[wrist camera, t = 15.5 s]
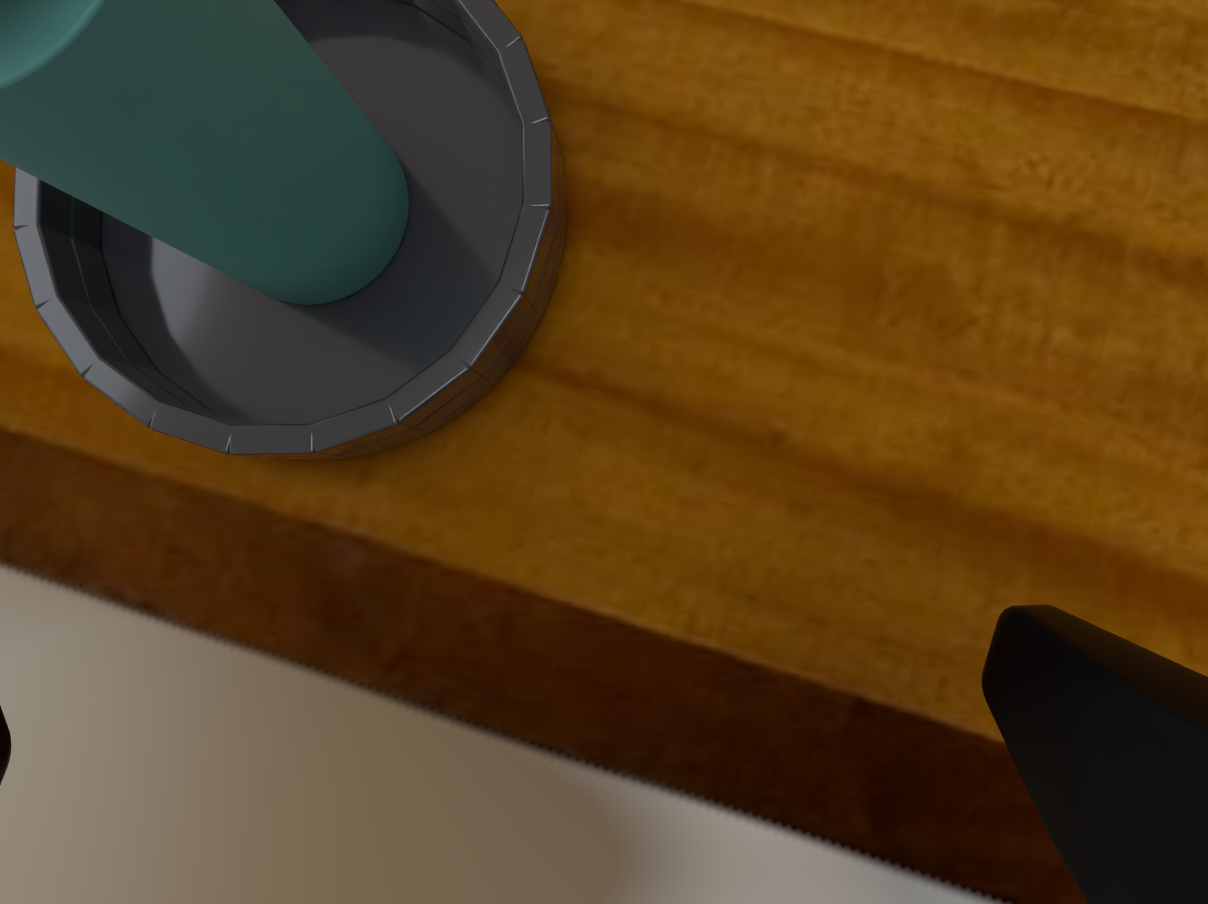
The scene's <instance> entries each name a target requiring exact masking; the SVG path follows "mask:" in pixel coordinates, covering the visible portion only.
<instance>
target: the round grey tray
mask: <svg viewBox="0 0 1208 904" xmlns="http://www.w3.org/2000/svg"><path fill="white" fill-rule="evenodd" d="M274 1H275V2H276V4H277V5H278V6H279V7H280V9H281V10H282V11H283V12H284V14H285V15H286V16H287V17H288V19H289V20H290V21H291V22H292V24H293V25H294V26H295V27H296V29H297V30H298V31H299V33H300V34H301V35H302V36H303V38H304V39H305V40H306V41H307V43H308V44H309V45H310V46H311V48H312V49H313V50H314V51H315V53H316V54H317V55H318V56H319V58H320V59H321V60H322V61H323V63H324V64H325V65H326V66H327V68H328V69H329V70H330V71H331V73H332V74H333V75H334V77H335V78H336V79H337V80H338V82H339V83H340V84H341V85H342V87H343V88H344V89H345V90H346V92H347V93H348V94H349V95H350V97H351V98H352V99H353V100H354V102H355V103H356V104H357V105H358V107H359V108H360V109H361V110H362V112H363V113H364V114H365V115H366V117H367V118H368V119H369V120H370V122H371V123H372V124H373V126H374V127H375V128H376V129H377V131H378V132H379V133H380V134H381V136H382V137H383V138H384V139H385V141H386V142H387V143H388V144H389V146H390V147H391V148H392V150H393V151H394V153H395V155H396V156H397V158H398V159H399V162H400V164H401V166H402V169H403V171H404V175H405V178H406V182H407V187H408V195H409V211H408V219H407V224H406V228H405V232H404V235H403V238H402V240H401V243H400V245H399V247H398V249H397V251H396V253H395V255H394V257H393V258H392V260H391V261H390V262H389V264H388V265H387V266H386V268H385V269H384V270H383V271H382V272H381V273H380V274H379V275H378V276H377V277H376V278H375V279H374V280H373V281H372V282H370V283H369V284H368V285H367V286H365V287H364V288H362V289H361V290H359V291H357V292H356V293H354V294H352V295H349V296H347V297H345V298H343V299H340V300H337V301H333V302H329V303H324V304H317V305H301V304H292V303H288V302H283V301H280V300H277V299H275V298H272V297H270V296H268V295H266V294H264V293H262V292H260V291H258V290H256V289H254V288H252V287H250V286H248V285H246V284H244V283H242V282H240V281H238V280H236V279H234V278H232V277H230V276H228V275H226V274H224V273H222V272H220V271H219V270H217V269H215V268H213V267H211V266H209V265H207V264H205V263H203V262H201V261H199V260H197V259H195V258H193V257H191V256H189V255H187V254H185V253H183V252H181V251H179V250H177V249H175V248H173V247H171V246H169V245H167V244H166V243H164V242H162V241H160V240H158V239H156V238H154V237H152V236H150V235H148V234H146V233H144V232H142V231H140V230H138V229H136V228H134V227H132V226H130V225H128V224H126V223H124V222H122V221H120V220H118V219H116V218H115V217H113V216H111V215H109V214H107V213H105V212H103V211H101V210H99V209H97V208H95V207H93V206H91V205H89V204H87V203H85V202H83V201H81V200H79V199H77V198H75V197H73V196H71V195H69V194H67V193H65V192H63V191H62V190H60V189H58V188H56V187H54V186H52V185H50V184H48V183H46V182H44V181H42V180H40V179H38V178H36V177H34V176H32V175H30V174H28V173H26V172H24V171H22V170H20V169H18V168H16V167H15V184H14V213H13V227H14V229H15V230H14V234H15V238H16V242H17V245H18V249H19V252H20V256H21V260H22V263H23V267H24V270H25V274H26V277H27V281H28V285H29V288H30V292H31V295H32V299H33V302H34V306H35V307H36V308H37V312H38V314H39V315H40V317H41V318H42V320H43V321H44V323H45V324H46V326H47V327H48V329H49V330H50V331H51V333H52V334H53V336H54V337H55V339H56V340H57V342H58V343H59V345H60V346H61V348H62V349H63V351H64V352H65V354H66V355H67V357H68V358H69V360H70V361H71V363H72V364H73V366H74V367H75V369H76V370H77V372H78V373H79V375H80V376H82V377H83V379H84V380H85V381H86V382H88V383H89V384H90V385H92V386H93V387H94V388H96V389H97V390H98V391H100V392H101V393H102V394H103V395H105V396H106V397H107V398H109V399H110V400H111V401H113V402H114V403H115V404H117V405H118V406H119V407H121V408H122V409H123V410H125V411H126V412H127V413H129V414H130V415H131V416H133V417H134V418H135V419H137V420H138V421H139V422H140V423H142V424H143V425H144V426H146V427H149V428H151V429H152V430H154V431H157V432H160V433H163V434H166V435H169V436H173V437H176V438H179V439H182V440H185V441H188V442H191V443H194V444H197V445H200V446H203V447H206V448H209V449H213V450H216V451H219V452H222V453H225V454H232V455H238V456H248V457H257V458H266V459H304V460H331V459H346V458H352V457H358V456H364V455H370V454H375V453H378V452H381V451H384V450H388V449H391V448H394V447H398V446H401V445H404V444H406V443H408V442H411V441H413V440H415V439H417V438H419V437H422V436H424V435H426V434H428V433H430V432H433V431H434V430H436V429H438V428H439V427H441V426H442V425H444V424H446V423H447V422H449V421H450V420H452V419H454V418H455V417H457V416H458V415H460V414H461V413H463V412H464V411H465V410H466V409H468V408H469V407H470V406H471V405H472V404H474V403H475V402H476V401H477V400H479V399H480V398H481V397H482V396H483V395H485V394H486V393H487V392H488V391H489V390H490V389H491V388H492V387H493V385H494V384H495V383H496V382H497V381H498V380H499V379H500V378H501V377H502V376H503V375H504V374H505V373H506V372H507V371H508V370H509V368H510V367H511V365H512V364H513V363H514V361H515V360H516V359H517V357H518V356H519V355H520V353H521V352H522V350H523V349H524V348H525V346H526V345H527V344H528V342H529V340H530V338H531V336H532V335H533V333H534V331H535V329H536V327H537V325H538V324H539V322H540V320H541V318H542V316H543V314H544V312H545V310H546V307H547V304H548V302H549V299H550V297H551V294H552V292H553V289H554V286H555V284H556V280H557V276H558V272H559V268H560V264H561V260H562V256H563V251H564V242H565V233H566V225H567V194H566V182H565V176H564V160H563V157H562V156H563V154H562V151H561V148H560V145H559V142H558V139H557V136H556V132H555V129H554V126H553V123H552V120H551V117H550V114H549V111H548V108H547V105H546V102H545V99H544V96H543V93H542V91H541V88H540V85H539V82H538V79H537V76H536V73H535V70H534V67H533V64H532V61H531V58H530V55H529V53H528V50H527V47H526V44H525V42H524V41H523V39H522V36H521V35H520V33H519V32H518V31H517V30H516V28H515V27H514V26H513V24H512V23H511V22H510V21H509V19H508V18H507V17H506V16H505V14H504V13H503V12H502V10H501V9H500V8H499V7H498V5H497V4H496V3H495V1H494V0H274Z"/></svg>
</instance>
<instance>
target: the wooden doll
mask: <svg viewBox="0 0 1208 904" xmlns="http://www.w3.org/2000/svg"><path fill="white" fill-rule="evenodd" d="M0 159H1V160H3V161H5V162H7V163H9V164H10V165H12V166H14V167H16V168H18V169H20V170H22V171H24V172H26V173H28V174H30V175H32V176H34V177H36V178H38V179H40V180H42V181H44V182H46V183H48V184H50V185H52V186H54V187H56V188H58V189H60V190H62V191H63V192H65V193H67V194H69V195H71V196H73V197H75V198H77V199H79V200H81V201H83V202H85V203H87V204H89V205H91V206H93V207H95V208H97V209H99V210H101V211H103V212H105V213H107V214H109V215H111V216H113V217H115V218H116V219H118V220H120V221H122V222H124V223H126V224H128V225H130V226H132V227H134V228H136V229H138V230H140V231H142V232H144V233H146V234H148V235H150V236H152V237H154V238H156V239H158V240H160V241H162V242H164V243H166V244H167V245H169V246H171V247H173V248H175V249H177V250H179V251H181V252H183V253H185V254H187V255H189V256H191V257H193V258H195V259H197V260H199V261H201V262H203V263H205V264H207V265H209V266H211V267H213V268H215V269H217V270H219V271H220V272H222V273H224V274H226V275H228V276H230V277H232V278H234V279H236V280H238V281H240V282H242V283H244V284H246V285H248V286H250V287H252V288H254V289H256V290H258V291H260V292H262V293H264V294H266V295H268V296H270V297H272V298H275V299H277V300H280V301H283V302H288V303H292V304H301V305H317V304H324V303H329V302H333V301H337V300H340V299H343V298H345V297H347V296H349V295H352V294H354V293H356V292H357V291H359V290H361V289H362V288H364V287H365V286H367V285H368V284H369V283H370V282H372V281H373V280H374V279H375V278H376V277H377V276H378V275H379V274H380V273H381V272H382V271H383V270H384V269H385V268H386V266H387V265H388V264H389V262H390V261H391V260H392V258H393V257H394V255H395V253H396V251H397V249H398V247H399V245H400V243H401V240H402V238H403V235H404V232H405V228H406V224H407V219H408V211H409V195H408V187H407V182H406V178H405V175H404V171H403V169H402V166H401V164H400V162H399V159H398V158H397V156H396V155H395V153H394V151H393V150H392V148H391V147H390V146H389V144H388V143H387V142H386V141H385V139H384V138H383V137H382V136H381V134H380V133H379V132H378V131H377V129H376V128H375V127H374V126H373V124H372V123H371V122H370V120H369V119H368V118H367V117H366V115H365V114H364V113H363V112H362V110H361V109H360V108H359V107H358V105H357V104H356V103H355V102H354V100H353V99H352V98H351V97H350V95H349V94H348V93H347V92H346V90H345V89H344V88H343V87H342V85H341V84H340V83H339V82H338V80H337V79H336V78H335V77H334V75H333V74H332V73H331V71H330V70H329V69H328V68H327V66H326V65H325V64H324V63H323V61H322V60H321V59H320V58H319V56H318V55H317V54H316V53H315V51H314V50H313V49H312V48H311V46H310V45H309V44H308V43H307V41H306V40H305V39H304V38H303V36H302V35H301V34H300V33H299V31H298V30H297V29H296V27H295V26H294V25H293V24H292V22H291V21H290V20H289V19H288V17H287V16H286V15H285V14H284V12H283V11H282V10H281V9H280V7H279V6H278V5H277V4H276V2H275V1H274V0H0Z"/></svg>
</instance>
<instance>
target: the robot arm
mask: <svg viewBox="0 0 1208 904" xmlns="http://www.w3.org/2000/svg"><path fill="white" fill-rule="evenodd" d="M982 688H983V693H984V696H985V699H986V702H987V704H988V706H989V708H990V711H991V713H992V715H993V717H994V719H995V721H996V723H997V726H998V728H999V730H1000V732H1001V734H1002V736H1003V739H1004V741H1005V743H1006V745H1007V747H1008V749H1009V751H1010V754H1011V756H1012V758H1013V760H1014V762H1015V764H1016V766H1017V769H1018V771H1019V773H1020V775H1021V777H1022V779H1023V782H1024V784H1025V786H1026V788H1027V790H1028V792H1029V794H1030V797H1031V799H1032V801H1033V803H1034V805H1035V807H1036V809H1037V812H1038V814H1039V816H1040V818H1041V820H1042V822H1043V824H1044V826H1045V828H1046V830H1047V832H1048V834H1049V836H1050V838H1051V840H1052V842H1053V844H1054V846H1055V848H1056V850H1057V852H1058V853H1059V855H1060V857H1061V859H1062V861H1063V862H1064V864H1065V866H1066V868H1067V870H1068V872H1069V873H1070V875H1071V877H1072V878H1073V880H1074V882H1075V884H1076V885H1077V887H1078V889H1079V890H1080V892H1081V894H1082V895H1083V897H1084V899H1085V901H1086V902H1087V904H1208V677H1206V676H1204V675H1202V674H1200V673H1197V672H1195V671H1193V670H1191V669H1189V668H1186V667H1184V666H1182V665H1180V664H1178V663H1176V662H1173V661H1171V660H1169V659H1167V658H1165V657H1163V656H1160V655H1158V654H1156V653H1154V652H1152V651H1149V650H1147V649H1145V648H1143V647H1141V646H1139V645H1136V644H1134V643H1132V642H1130V641H1128V640H1126V639H1123V638H1121V637H1119V636H1117V635H1115V634H1113V633H1110V632H1108V631H1106V630H1104V629H1102V628H1099V627H1097V626H1095V625H1093V624H1091V623H1089V622H1086V621H1084V620H1082V619H1080V618H1078V617H1076V616H1073V615H1071V614H1069V613H1067V612H1065V611H1062V610H1060V609H1058V608H1056V607H1053V606H1050V605H1022V606H1011V607H1009V608H1007V609H1005V610H1004V611H1003V612H1002V613H1001V615H1000V616H999V619H998V621H997V624H996V628H995V631H994V635H993V638H992V641H991V645H990V648H989V652H988V655H987V658H986V662H985V665H984V669H983V673H982ZM10 755H11V737H10V732H9V729H8V726H7V723H6V720H5V718H4V715H3V712H2V709H1V706H0V785H1V782H2V779H3V777H4V774H5V772H6V769H7V766H8V763H9V759H10Z"/></svg>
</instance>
